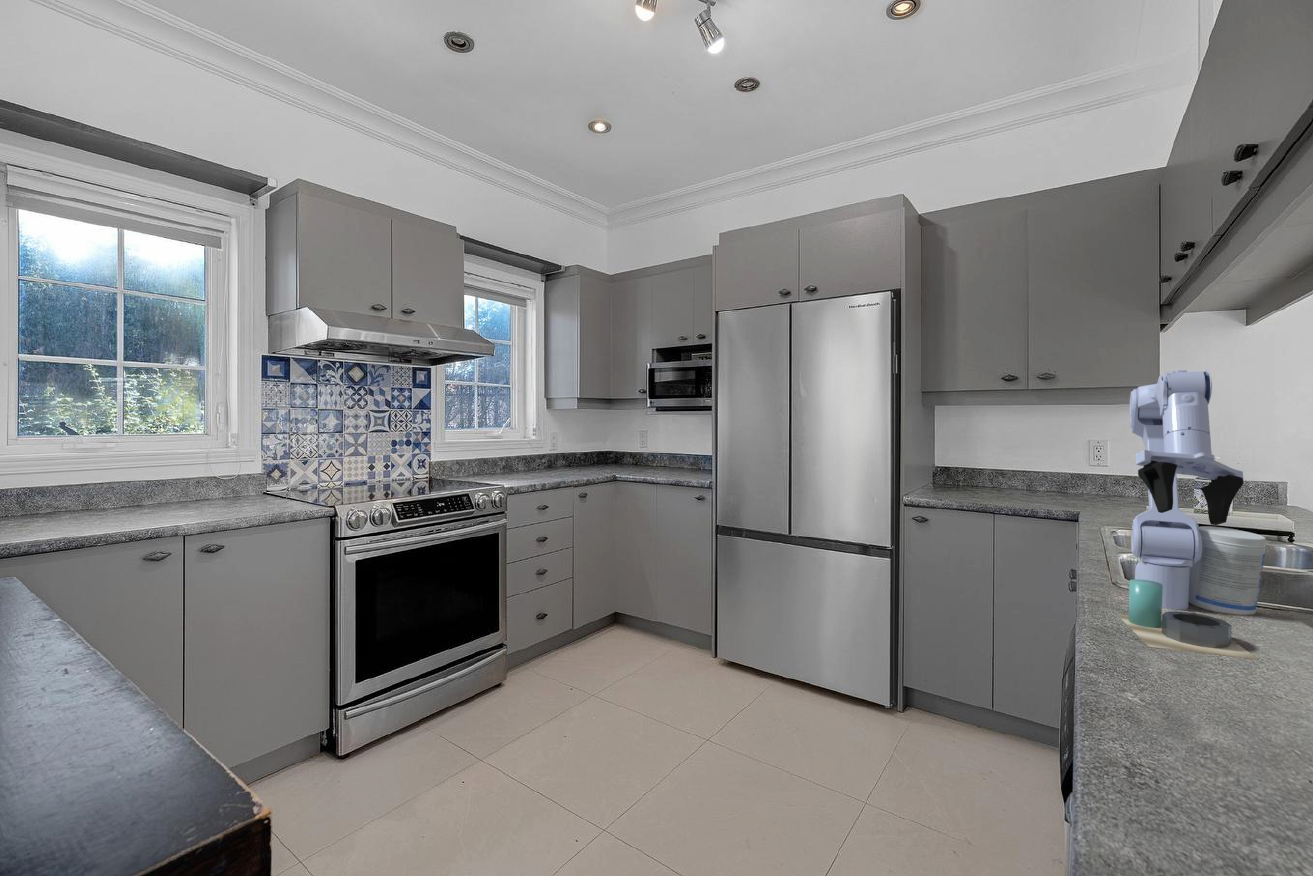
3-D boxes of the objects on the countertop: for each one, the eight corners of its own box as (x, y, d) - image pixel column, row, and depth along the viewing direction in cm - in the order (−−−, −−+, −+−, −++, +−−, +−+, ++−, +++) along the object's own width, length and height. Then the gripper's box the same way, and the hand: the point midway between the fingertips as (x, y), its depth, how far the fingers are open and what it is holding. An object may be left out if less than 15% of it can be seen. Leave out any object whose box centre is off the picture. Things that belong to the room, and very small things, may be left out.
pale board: (1116, 620, 108) (1117, 614, 108) (1209, 630, 103) (1209, 624, 103) (1149, 652, 94) (1149, 646, 94) (1258, 666, 89) (1259, 659, 89)
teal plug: (1124, 617, 107) (1126, 578, 107) (1155, 620, 105) (1157, 581, 105) (1133, 625, 103) (1134, 584, 102) (1165, 629, 101) (1166, 587, 101)
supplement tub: (1269, 621, 108) (1284, 541, 106) (1211, 616, 109) (1225, 537, 107) (1224, 601, 117) (1237, 527, 116) (1172, 596, 118) (1184, 523, 117)
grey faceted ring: (1154, 626, 102) (1155, 609, 102) (1215, 633, 99) (1216, 615, 99) (1173, 643, 95) (1174, 624, 95) (1240, 651, 92) (1241, 631, 92)
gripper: (1156, 417, 95) (1160, 497, 90) (1257, 438, 93) (1266, 522, 88) (1125, 434, 101) (1127, 510, 97) (1219, 455, 100) (1225, 533, 95)
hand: (1191, 517), depth 93 cm, fingers open, 7 cm apart
